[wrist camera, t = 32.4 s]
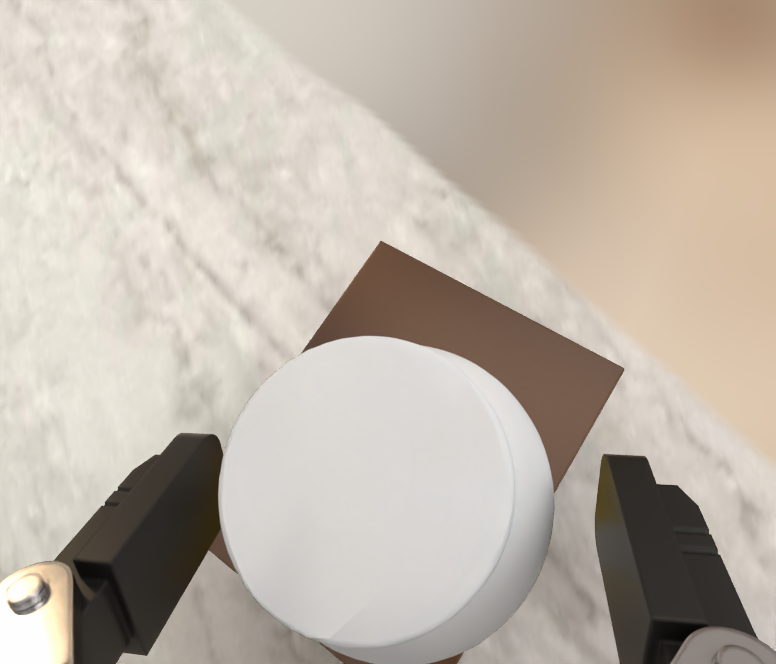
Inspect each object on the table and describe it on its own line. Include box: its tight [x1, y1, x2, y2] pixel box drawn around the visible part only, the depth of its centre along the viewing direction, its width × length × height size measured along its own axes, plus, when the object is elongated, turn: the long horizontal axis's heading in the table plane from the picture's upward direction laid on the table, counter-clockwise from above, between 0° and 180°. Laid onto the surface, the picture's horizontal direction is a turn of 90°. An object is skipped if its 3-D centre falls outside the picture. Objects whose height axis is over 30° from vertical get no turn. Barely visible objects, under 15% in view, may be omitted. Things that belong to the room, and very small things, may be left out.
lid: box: [209, 241, 624, 664], centre depth 21 cm, size 13×11×1 cm
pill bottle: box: [218, 336, 554, 664], centre depth 14 cm, size 6×6×12 cm
